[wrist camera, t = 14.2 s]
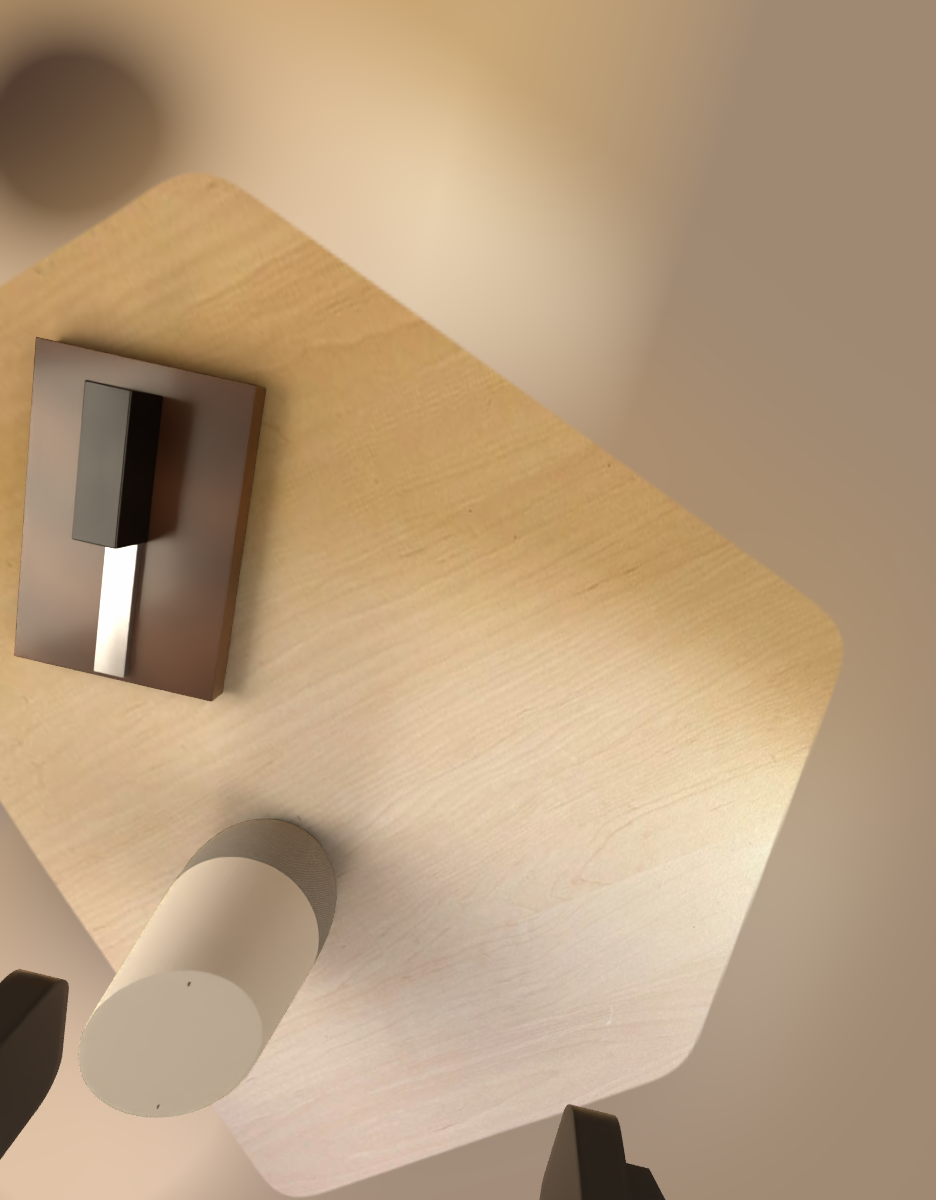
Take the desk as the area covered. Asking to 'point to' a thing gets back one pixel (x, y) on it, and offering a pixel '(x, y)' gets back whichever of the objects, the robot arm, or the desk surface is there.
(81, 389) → the board
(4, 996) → the robot arm
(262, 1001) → the smart speaker
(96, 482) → the knife
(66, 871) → the desk surface
